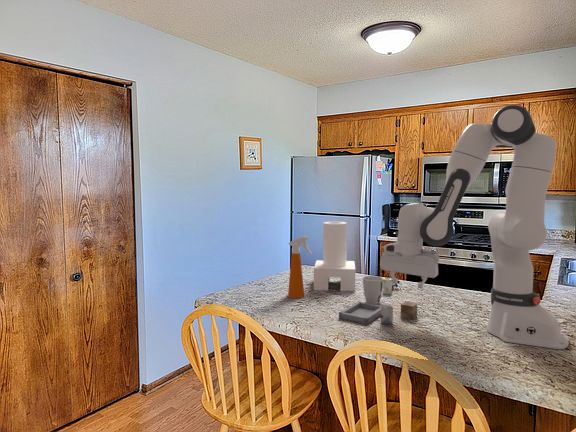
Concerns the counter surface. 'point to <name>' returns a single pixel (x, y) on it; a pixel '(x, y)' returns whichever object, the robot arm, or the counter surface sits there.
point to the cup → (373, 289)
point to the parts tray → (361, 313)
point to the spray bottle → (297, 268)
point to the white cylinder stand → (334, 258)
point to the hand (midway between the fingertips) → (407, 285)
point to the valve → (388, 285)
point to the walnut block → (409, 310)
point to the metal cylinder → (386, 315)
